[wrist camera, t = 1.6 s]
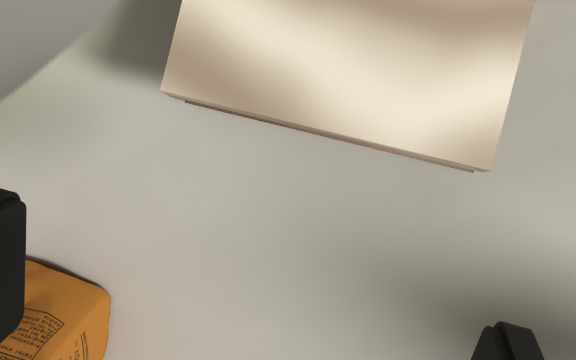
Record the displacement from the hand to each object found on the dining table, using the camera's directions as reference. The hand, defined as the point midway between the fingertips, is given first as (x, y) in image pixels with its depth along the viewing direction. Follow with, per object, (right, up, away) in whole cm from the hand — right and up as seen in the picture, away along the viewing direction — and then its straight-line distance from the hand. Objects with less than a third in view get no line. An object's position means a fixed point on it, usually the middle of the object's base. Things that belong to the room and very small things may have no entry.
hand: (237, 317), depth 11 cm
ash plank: (+4, +12, +15) cm, 19 cm away
